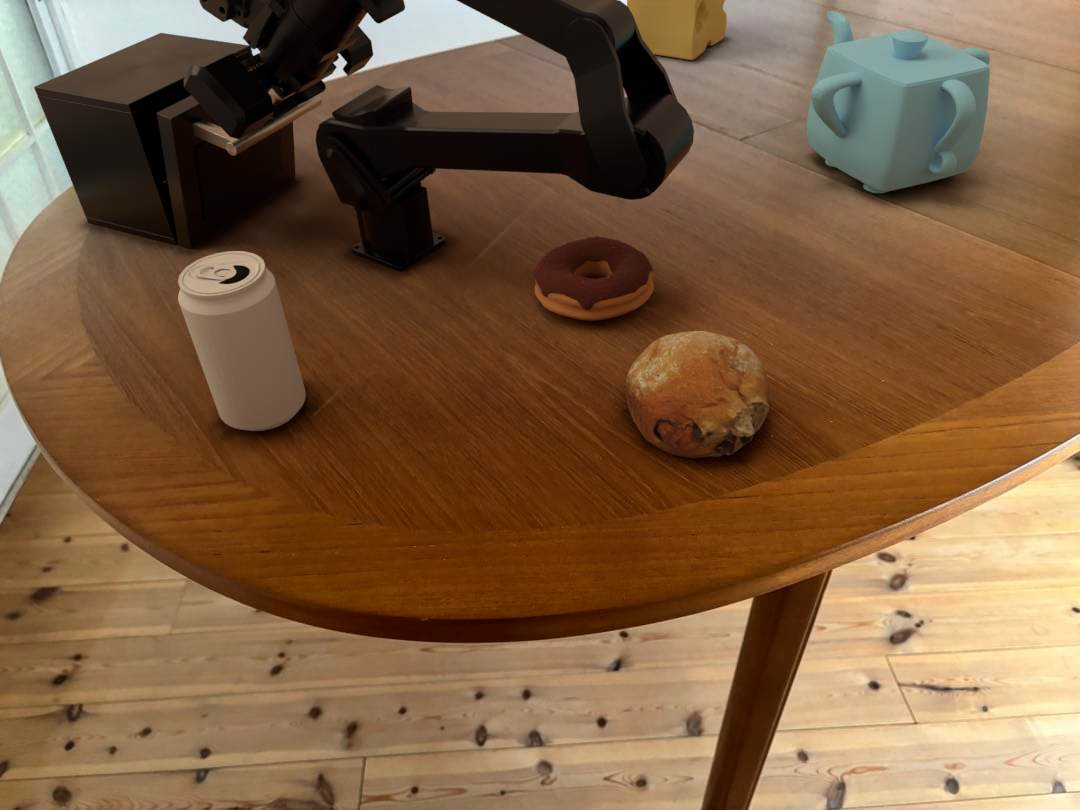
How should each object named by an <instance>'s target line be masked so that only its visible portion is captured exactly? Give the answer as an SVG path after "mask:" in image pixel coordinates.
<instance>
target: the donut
mask: <svg viewBox="0 0 1080 810" xmlns="http://www.w3.org/2000/svg"><path fill="white" fill-rule="evenodd" d="M535 266H536V267H535V268H534V270H533V274H532V275H533V278H534V281H535V286H534V294H535V296H536V298H537V300H538V301H539V302H540V303H541V305H542V306H543V308H545V309H546V310H548V311H550V312H551V313H554V314H556V315H558V316H563V317H566V318H570V319H573V320H579V321H590V322H591V321H604V320H609V319H613V318H617V317H620V316H624V315H626V314H628V313H631V312H633V311H635V310H637V309H639V308H641V307H642V306H643V305H644V304H645V303H646V302H647V301H649V299H650V297H651V295H652V294H653V293H654V290H655V289H654V287H655V283H654V280H653V278H652V277H653V276H652V272H653V271H654V269H653V268H654V267H653V265H652V263H651V262H650V260H649V259H648V257H647V255H646V254H645V253H643V251H640V250H638V249H637V248H636V247H635V246H632V245H631V244H629V243H626V242H624V241H620V240H619V239H613V238H610V237H603V236H596V235H595V236H590V237H586V238H581V239H577V240H573V241H569V242H566V243H564V244H562V245H559V246H556V247H554V248H553V249H551V250H549V251H548V252H546V253H545V254H544V256H543V257H542V258H541V259H540V260H539V261H538V263H537V265H535Z"/></svg>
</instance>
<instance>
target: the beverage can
mask: <svg viewBox="0 0 1080 810" xmlns="http://www.w3.org/2000/svg"><path fill="white" fill-rule="evenodd" d="M177 279H178V280H177V284H178V286H179V292H178V295H177V301H178V304H179V308H180V310H181V312H182V315H183V318H184V321H185V324H186V326H187V329H188V332H189V335H190V337H191V340H192V343H193V346H194V349H195V352H196V354H197V357H198V360H199V363H200V366H201V368H202V371H203V374H204V377H205V379H206V380H205V381H206V383H207V386H208V388H209V391H210V393H211V396H212V399H213V403H214V405H215V407H216V410H217V413H218V416H219V418H220V419H221V421H222V422H223V423H224V424H226V425H227V426H229V427H231V428H234V429H236V430H241V431H248V432H249V431H250V432H262V431H267V430H268V431H269V430H273V429H276V428H278V427H281V426H282V425H284V424H286V423H288V422H289V421H291V420H292V419H293V418H294V417H295V415H297V413H299V411H300V410H301V409H302V407H303V406H304V404H305V402H306V398H307V397H306V396H307V393H306V392H307V391H306V388H305V385H304V381H303V377H302V374H301V369H300V366H299V363H298V358H297V355H296V350H295V348H294V343H293V340H292V337H291V333H290V329H289V326H288V322H287V319H286V315H285V311H284V307H283V304H282V300H281V296H280V293H279V290H278V286H277V282H276V279H275V276H274V274H273V272H272V271H271V270H269V269H268V268H267V267H266V262H265V261H264V259H263V258H262V257H261V256H259V254H256V253H253V252H249V251H244V250H228V251H222V252H216V253H212V254H209V255H207V256H203V257H201V258H198V259H197V260H195V261H192V263H190V264H188V265H187V266H185V268H183V270H182V271H181V272H180V274H179V275H178V278H177Z"/></svg>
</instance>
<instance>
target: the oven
mask: <svg viewBox="0 0 1080 810" xmlns="http://www.w3.org/2000/svg"><path fill="white" fill-rule="evenodd" d="M220 51H222V52H229V53H233V54H234V55H235V56H236V57H237V56H239V55H241V54H243V53H246V52H248V51H250V52H251V53H252V54H253V49H252V48H251V47H250V46H249V44H244V43H236V42H229V41H228V42H227V41H222V40H214V39H208V38H207V39H206V38H200V37H193V36H187V35H180V34H173V33H165V32H159V33H157V34H154V35H153V36H150V37H148V38H145V39H143V40H141V41H138V42H135V43H133V44H131V45H129V46H126V47H125V48H122V49H119V50H117V51H115V52H113V53H110V54H108V55H105V56H103V57H101V58H99V59H96V60H94V61H91V62H89V63H86V64H84V65H81V66H79V67H77V68H74V69H73V70H71V71H68V72H65V73H63V74H61V75H58V76H56V77H54V78H51V79H48V80H47V81H44V82H42V83H40V84H37V85H35V86H33V88H34V91H35V93H36V96H37V99H38V101H39V104H40V106H41V109H42V111H43V114H44V116H45V119H46V121H47V124H48V126H49V129H50V131H51V133H52V136H53V139H54V142H55V144H56V146H57V148H58V151H59V154H60V156H61V159H62V161H63V164H64V166H65V169H66V171H67V174H68V176H69V179H70V181H71V184H72V186H73V189H74V192H75V193H76V196H77V198H78V201H79V203H80V206H81V209H82V211H83V214H84V216H85V219H86V222H87V224H90V225H94V226H98V227H102V228H106V229H110V230H114V231H117V232H121V233H126V234H129V235H133V236H136V237H141V238H144V239H148V240H152V241H153V240H154V241H156V242H159V243H164V244H167V245H172V246H178V245H179V244H178V241H177V235H176V228H175V222H174V216H173V210H172V204H171V198H170V192H169V185H168V179H167V173H166V167H165V161H164V155H163V149H162V142H161V136H160V130H159V124H158V118H157V112H159V111H161V110H163V109H165V108H167V107H169V106H171V105H173V104H175V103H177V102H179V101H181V100H183V99H185V98H187V97H189V96H191V94H190V93H189V92H188V91H187V90H186V89H185V87H184V78H185V76H186V74H187V72H188V70H189V69H190V67H191V65H192V64H194V63H197V62H199V61H201V60H203V59H205V58H207V57H209V56H211V55H213V54H216V53H218V52H220Z"/></svg>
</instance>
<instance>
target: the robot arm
mask: <svg viewBox="0 0 1080 810" xmlns="http://www.w3.org/2000/svg"><path fill="white" fill-rule="evenodd" d="M456 1H457V2H459V3H461V4H463V5H464V6H467V7H468V8H470V9H472V10H474V11H476V12H478V13H480V14H482V15H484V16H485V17H488V18H489V19H491V20H493V21H496V22H497V23H499V24H501V25H503V26H505V27H507V28H509V29H511V30H512V31H515V32H516V33H519V34H520V35H522V36H524V37H526V38H529V39H530V40H532V41H534V42H536V43H538V44H540V45H541V46H543V47H545V48H547V49H549V50H551V51H553V52H555V53H557V54H558V55H561V56H563V57H564V58H565V59H566V62H567V64H568V66H569V69H570V71H571V73H572V76H573V79H574V85H575V93H576V100H577V107H578V111H576V112H519V111H518V112H517V111H516V112H514V111H513V112H510V111H509V112H507V111H429V110H425V109H423V108H422V107H420V106H419V105H417V104H416V103H415V102H413V93H412V87H411V86H408V85H407V86H402V87H397V88H389V87H388V88H386V87H384V86H381V85H379V84H376V85H374V86H373V87H370V88H369V89H367V90H366V91H365V92H362V93H361V94H360V95H359V94H358V96H355V97H354V98H353V99H351V100H350V101H348V102H346V103H345V104H343V105H341V106H340V107H338V108H336V109H334V110H333V111H332V112H331V115H332V116H330V117H328V118H326V119H325V120H324V121H322V122H321V123H319V124H318V128H317V130H316V134H315V144H316V148H317V149H316V150H317V155H318V158H319V160H320V162H321V164H322V166H323V169H324V170H325V173H326V175H327V176H328V179H329V180H330V183H331V185H332V187H333V189H334V191H335V193H336V195H337V197H338V199H339V201H340V202H341V204H344V205H348V206H351V207H352V208H354V211H355V213H356V218H357V219H356V220H357V224H358V229H359V235H360V238H362V240H361V241H359V242H357V243H355V244H353V245H352V246H351V253H352V254H353V255H356V256H359V257H362V258H364V259H366V260H369V261H371V262H374V263H377V264H380V265H382V266H385V267H386V268H390V269H393V270H395V271H403V270H405V269H407V268H409V267H411V266H412V265H414V264H415V263H416V262H418V261H420V260H421V259H422V258H424V257H426V256H427V255H429V254H430V253H432V252H434V251H435V250H437V249H438V248H439V247H441V246H443V245H444V244H446V243H447V239H446V236H445V235H442V234H439V233H436V232H433V226H432V217H431V210H430V203H429V195H428V190H427V187H425V186H422V181H424V180H425V179H426V178H428V177H429V176H430V175H433V174H434V173H435V172H436V171H437V169H438V170H459V171H460V170H461V171H480V172H481V171H483V172H506V173H528V174H529V173H530V174H550V175H551V174H554V175H563V176H566V177H569V178H570V179H571V180H573V181H574V182H576V183H577V184H578V185H580V186H582V187H584V188H585V189H587V190H588V191H589V192H593V193H598V194H601V195H606V196H610V197H614V198H619V199H624V200H630V201H635V200H643V199H645V198H648V197H650V196H651V195H652V194H654V193H655V191H656V190H657V189H659V187H661V186H662V184H663V183H664V182H665V181H666V179H668V177H669V176H670V175H671V174H672V173H673V172H674V171H675V169H676V168H677V167H678V166H679V164H680V163H681V162H682V161H683V160H684V159H685V157H686V156H687V155H688V154H689V153H690V150H691V148H692V146H693V143H694V135H695V130H694V124H693V119H692V117H691V116H690V113H688V110H687V109H686V107H684V105H682V104H681V103H680V102H679V101H678V98H677V96H676V93H675V91H674V89H673V85H672V83H671V80H670V77H669V75H668V72H667V71H666V69H665V67H664V66H663V65H662V63H661V61H659V59H658V58H657V56H656V55H655V54H653V53H652V51H651V50H650V49H649V47H648V46H647V45H646V43H645V42H644V41H643V39H642V37H641V34H640V32H639V29H638V27H637V24H636V21H635V19H634V16H633V14H632V13H631V11H630V9H629V8H628V6H627V4H625V3H624V2H623V1H621V0H456ZM198 2H199V4H200V6H201V8H202V9H203V10H204V11H205V12H207V13H208V14H210V15H211V16H213V17H215V18H216V19H217V20H218V21H220V22H222V23H224V22H228V21H232V22H234V23H235V24H238V25H239V26H240V27H242V28H244V29H246V31H245V33H244V35H243V36H242V39H243V40H244V42H245V43H247V45H249V46H250V47H251V49H252V50H256V49H257V50H258V51H259V52H258V53H256V54H253V52H252V53H251V52H250V51H248V52H246V53H243V54H241V55H239V56H237V57H236V56H235V55H234V54H233V53H229V52H222V51H220V52H218V53H216V54H213V55H211V56H209V57H207V58H205V59H203V60H201V61H199V62H197V63H194V64H192V65H191V67H190V69H189V70H188V72H187V74H186V76H185V78H184V87H185V89H186V90H187V91H188V92H189V93H190V94H191V95H192V96H193V97H194V98H195V99H196V101H197V102H198V103H199V104H200V105H201V106H202V107H203V108H204V109H205V110H206V111H207V113H208V114H209V115H210V116H211V117H212V118H213V119H214V120H215V121H216V122H217V123H218V125H219V126H220V127H221V128H222V129H223V130H224V131H225V132H226V133H227V134H228V135H229V137H232V138H236V139H241V138H243V137H244V136H246V135H248V134H250V133H251V132H253V131H255V130H256V129H258V128H260V127H261V126H262V125H263V124H264V123H265V122H266V121H268V120H270V119H273V118H278V117H281V116H282V115H284V114H286V113H287V112H289V111H291V110H293V109H294V108H296V107H297V106H298V105H299V104H302V103H304V102H306V101H308V100H310V99H312V98H313V97H315V96H317V95H320V94H323V92H325V91H326V89H327V87H326V84H325V82H324V81H323V80H325V79H326V78H328V77H329V76H331V75H333V73H334V72H335V70H337V68H338V66H337V65H336V64H335V62H337V61H338V60H339V59H340V56H341V57H342V59H343V60H344V61H345V62H346V64H345V65H344V66H343V68H342V71H343V72H344V73H345V74H346V76H347V77H350V76H351V75H353V74H355V73H357V72H358V71H360V70H362V69H363V68H365V66H366V65H367V64H368V63H369V61H370V60H371V59H372V58H373V56H374V51H373V43H372V40H371V39H370V37H369V36H368V35H367V34H366V32H364V30H363V29H362V28H361V27H360V26H359V25H360V24H361V23H362V21H363V20H364V18H365V17H366V16H367V14H368V15H369V16H370V18H371V19H372V20H373V21H374V22H375V23H376V24H382V23H383V22H386V21H387V20H389V19H391V18H393V17H395V16H396V15H399V14H400V13H402V12H404V11H405V9H406V4H405V1H404V0H198ZM339 55H340V56H339ZM625 94H626V97H625Z"/></svg>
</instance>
